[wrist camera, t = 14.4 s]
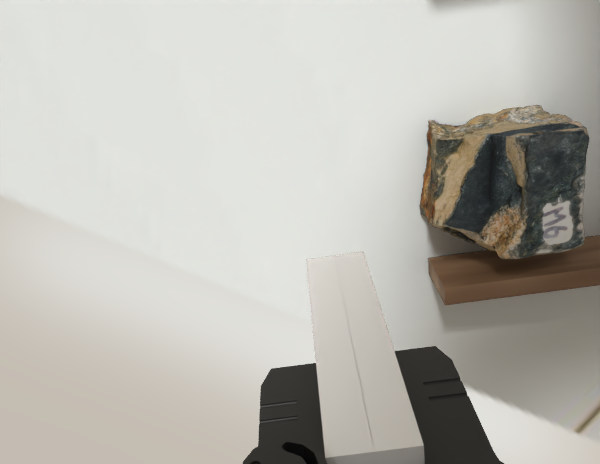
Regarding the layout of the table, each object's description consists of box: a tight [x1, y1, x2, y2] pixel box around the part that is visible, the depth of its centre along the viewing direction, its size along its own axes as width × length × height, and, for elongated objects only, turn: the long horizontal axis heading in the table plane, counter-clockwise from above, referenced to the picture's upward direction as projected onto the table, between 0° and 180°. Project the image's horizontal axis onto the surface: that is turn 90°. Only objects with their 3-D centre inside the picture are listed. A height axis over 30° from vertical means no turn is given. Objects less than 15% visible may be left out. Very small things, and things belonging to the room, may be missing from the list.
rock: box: [420, 105, 589, 259], centre depth 32 cm, size 9×9×6 cm
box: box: [428, 235, 600, 305], centre depth 31 cm, size 22×19×4 cm
